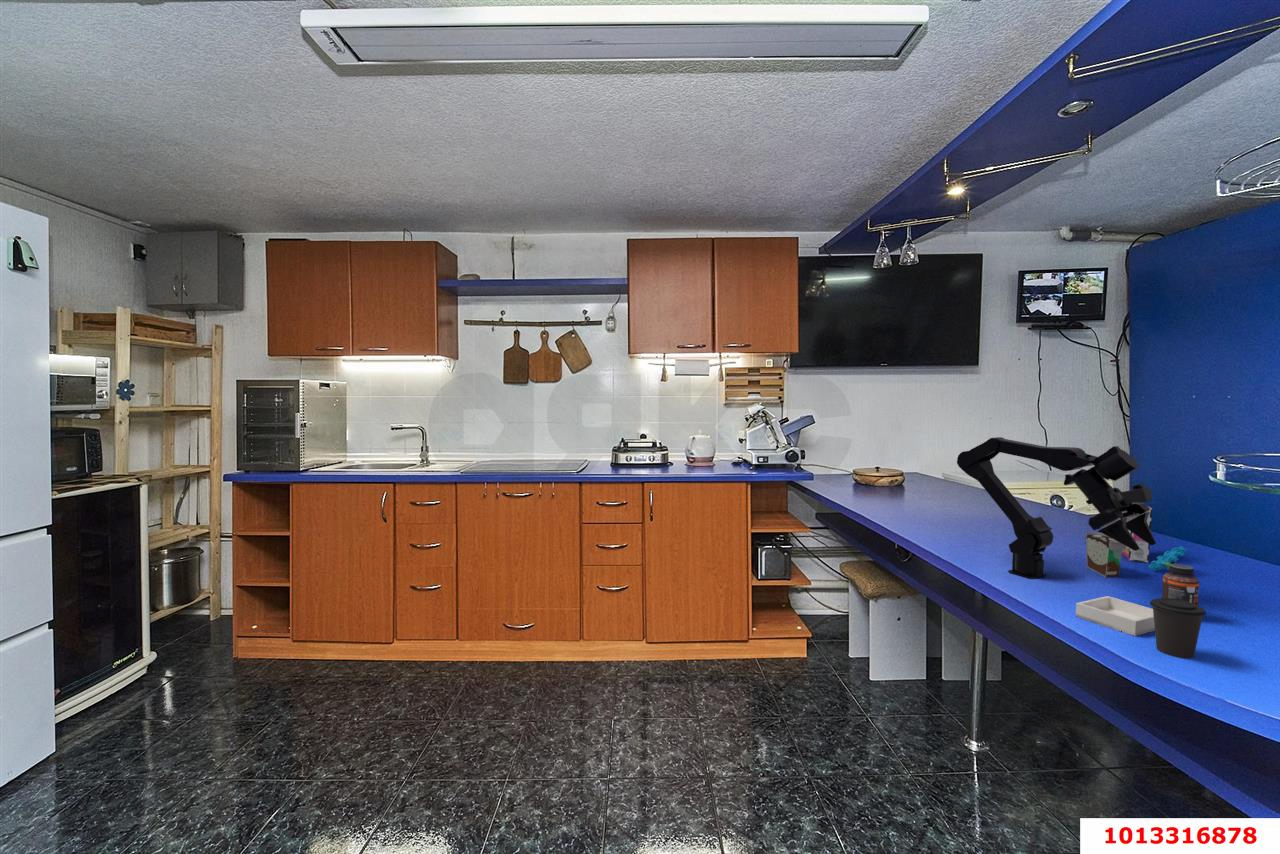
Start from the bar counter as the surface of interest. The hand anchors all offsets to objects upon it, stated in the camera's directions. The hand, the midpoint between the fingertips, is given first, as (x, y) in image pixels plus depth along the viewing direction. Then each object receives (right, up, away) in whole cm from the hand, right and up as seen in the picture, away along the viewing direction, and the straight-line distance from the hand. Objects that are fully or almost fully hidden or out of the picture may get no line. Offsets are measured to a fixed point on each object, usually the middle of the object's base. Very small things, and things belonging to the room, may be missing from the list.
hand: (1145, 547), depth 137 cm
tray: (-14, -14, -10) cm, 23 cm away
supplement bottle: (+1, -14, -7) cm, 16 cm away
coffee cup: (-16, -15, -25) cm, 33 cm away
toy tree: (+27, -12, +24) cm, 38 cm away
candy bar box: (+29, -11, +38) cm, 49 cm away
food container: (+10, -12, +24) cm, 29 cm away
